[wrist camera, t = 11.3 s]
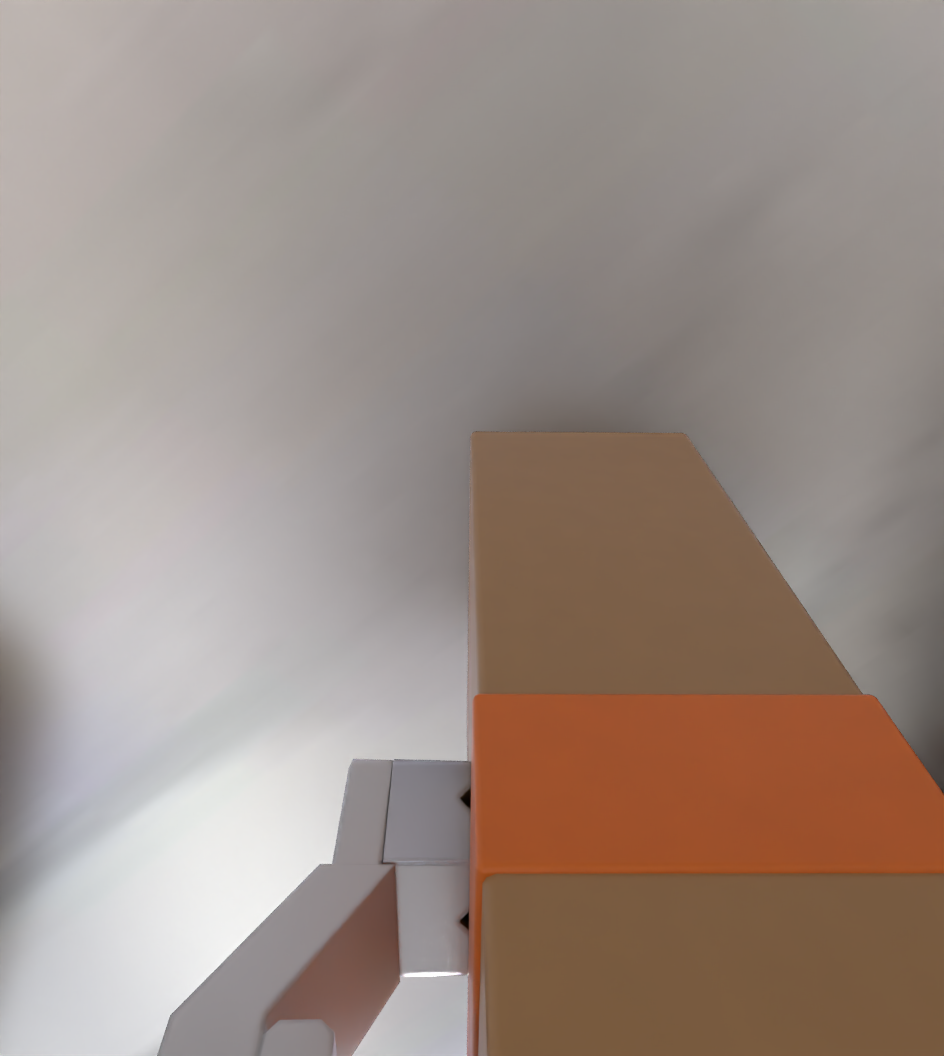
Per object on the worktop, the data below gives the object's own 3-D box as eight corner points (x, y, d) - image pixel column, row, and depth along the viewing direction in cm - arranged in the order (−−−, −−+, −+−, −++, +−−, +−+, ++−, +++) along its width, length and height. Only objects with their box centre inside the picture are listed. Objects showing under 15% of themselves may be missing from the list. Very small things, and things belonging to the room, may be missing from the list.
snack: (467, 426, 14) (482, 1205, 4) (689, 428, 14) (1236, 1200, 4) (464, 717, 17) (469, 1603, 7) (650, 718, 17) (921, 1596, 7)
